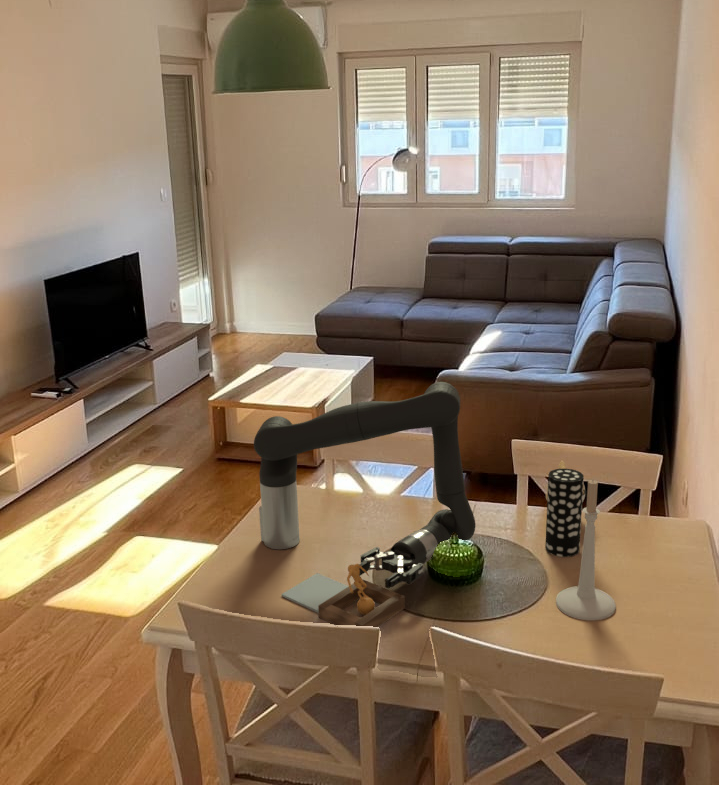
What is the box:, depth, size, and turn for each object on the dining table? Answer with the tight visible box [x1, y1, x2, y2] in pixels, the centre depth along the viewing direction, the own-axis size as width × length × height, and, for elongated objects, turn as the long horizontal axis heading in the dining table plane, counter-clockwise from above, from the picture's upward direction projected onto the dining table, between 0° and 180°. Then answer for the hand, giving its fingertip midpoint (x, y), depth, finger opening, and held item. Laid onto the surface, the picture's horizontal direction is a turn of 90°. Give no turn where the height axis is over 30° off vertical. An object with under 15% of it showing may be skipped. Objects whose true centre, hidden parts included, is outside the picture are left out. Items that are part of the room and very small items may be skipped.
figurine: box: [346, 563, 376, 616], centre depth 188 cm, size 8×6×12 cm
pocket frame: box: [318, 578, 405, 628], centre depth 189 cm, size 12×14×3 cm
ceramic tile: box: [281, 572, 349, 614], centre depth 197 cm, size 12×12×1 cm
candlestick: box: [555, 479, 617, 621], centre depth 186 cm, size 13×13×30 cm
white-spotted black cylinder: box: [544, 468, 585, 558], centre depth 212 cm, size 8×8×20 cm
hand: (371, 578), depth 190 cm, fingers open, 8 cm apart
